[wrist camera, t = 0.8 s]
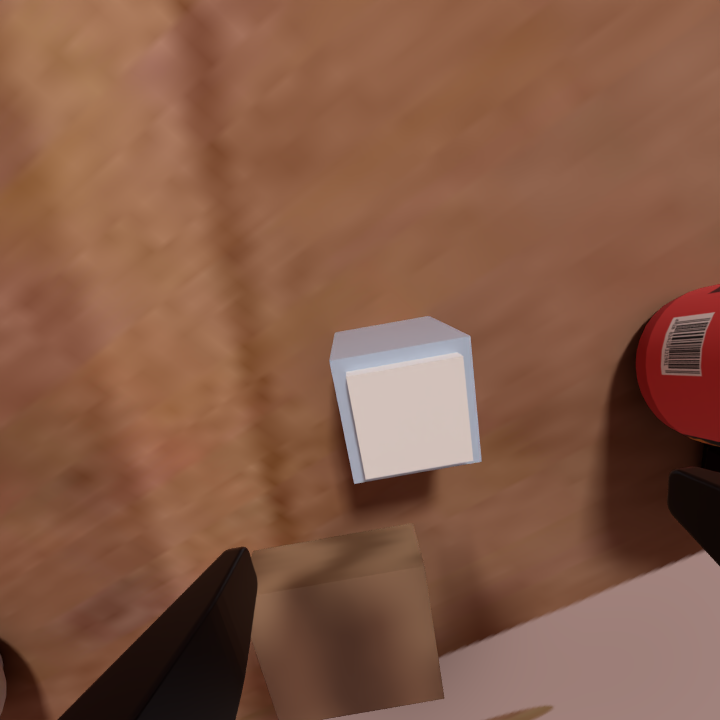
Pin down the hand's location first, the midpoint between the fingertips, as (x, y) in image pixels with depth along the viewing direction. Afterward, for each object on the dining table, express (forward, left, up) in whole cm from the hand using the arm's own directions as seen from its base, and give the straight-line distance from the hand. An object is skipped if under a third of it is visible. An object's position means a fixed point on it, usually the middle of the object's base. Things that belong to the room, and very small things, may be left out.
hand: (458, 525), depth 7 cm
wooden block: (+5, +15, -12) cm, 20 cm away
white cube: (0, 0, -12) cm, 12 cm away
